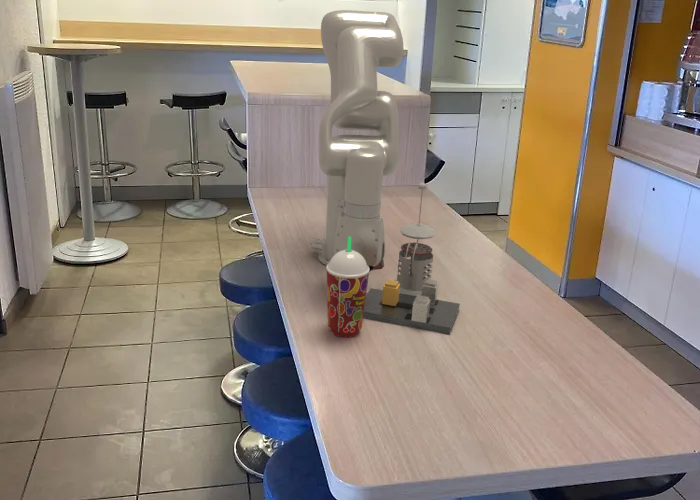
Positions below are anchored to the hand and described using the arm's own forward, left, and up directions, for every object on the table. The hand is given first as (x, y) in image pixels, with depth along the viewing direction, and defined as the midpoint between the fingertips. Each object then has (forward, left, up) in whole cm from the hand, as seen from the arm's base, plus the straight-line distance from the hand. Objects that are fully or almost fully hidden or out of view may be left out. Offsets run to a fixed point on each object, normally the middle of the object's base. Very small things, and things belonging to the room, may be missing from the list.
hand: (357, 290), depth 146 cm
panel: (+11, 0, -3) cm, 12 cm away
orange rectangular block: (+7, 0, -2) cm, 7 cm away
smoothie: (+1, -13, -4) cm, 13 cm away
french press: (+9, +13, -4) cm, 17 cm away
